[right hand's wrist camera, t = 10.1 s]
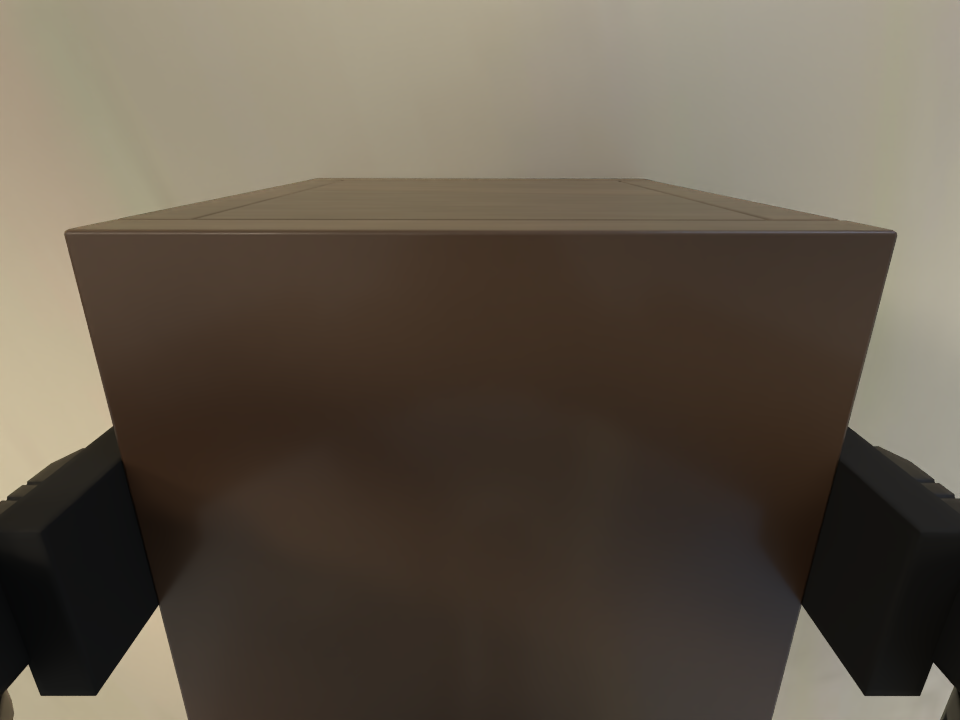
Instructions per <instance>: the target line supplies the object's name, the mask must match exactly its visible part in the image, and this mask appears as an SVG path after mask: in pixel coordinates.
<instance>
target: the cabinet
mask: <svg viewBox="0 0 960 720" xmlns="http://www.w3.org/2000/svg"><path fill="white" fill-rule="evenodd" d="M64 235H65V239H66V243H67V247H68V251H69V255H70V259H71V262H72V266H73V270H74V274H75V278H76V282H77V286H78V290H79V294H80V298H81V302H82V305H83V309H84V313H85V317H86V321H87V325H88V329H89V333H90V337H91V341H92V345H93V349H94V352H95V356H96V360H97V364H98V368H99V372H100V376H101V380H102V384H103V388H104V392H105V396H106V399H107V403H108V407H109V411H110V415H111V419H112V423H113V427H114V431H115V435H116V439H117V443H118V446H119V450H120V454H121V458H122V462H123V466H124V470H125V474H126V478H127V482H128V486H129V490H130V493H131V497H132V501H133V505H134V509H135V513H136V517H137V521H138V525H139V529H140V533H141V537H142V540H143V544H144V548H145V552H146V556H147V560H148V564H149V568H150V572H151V576H152V580H153V584H154V587H155V591H156V595H157V599H158V603H159V607H160V611H161V615H162V619H163V623H164V627H165V631H166V634H167V638H168V642H169V646H170V650H171V654H172V658H173V662H174V666H175V670H176V674H177V678H178V681H179V685H180V689H181V693H182V697H183V701H184V705H185V709H186V713H187V717H188V720H772V716H773V713H774V709H775V705H776V701H777V697H778V693H779V689H780V686H781V682H782V678H783V674H784V670H785V666H786V662H787V659H788V655H789V651H790V647H791V643H792V639H793V635H794V632H795V628H796V624H797V620H798V616H799V612H800V608H801V605H802V601H803V597H804V593H805V589H806V585H807V581H808V578H809V574H810V570H811V566H812V562H813V558H814V554H815V551H816V547H817V543H818V539H819V535H820V531H821V527H822V524H823V520H824V516H825V512H826V508H827V504H828V500H829V497H830V493H831V489H832V485H833V481H834V477H835V473H836V470H837V466H838V462H839V458H840V454H841V450H842V446H843V443H844V439H845V435H846V431H847V427H848V423H849V419H850V416H851V412H852V408H853V404H854V400H855V396H856V392H857V389H858V385H859V381H860V377H861V373H862V369H863V365H864V362H865V358H866V354H867V350H868V346H869V342H870V338H871V335H872V331H873V327H874V323H875V319H876V315H877V312H878V308H879V304H880V300H881V296H882V292H883V288H884V285H885V281H886V277H887V273H888V269H889V265H890V261H891V258H892V254H893V250H894V246H895V242H896V238H897V233H896V232H895V231H893V230H889V229H884V228H879V227H874V226H869V225H865V224H860V223H855V222H850V221H840V220H837V219H833V218H828V217H824V216H819V215H814V214H809V213H804V212H799V211H795V210H790V209H785V208H780V207H775V206H770V205H766V204H761V203H756V202H751V201H746V200H741V199H737V198H732V197H727V196H722V195H717V194H713V193H708V192H703V191H698V190H693V189H688V188H684V187H679V186H674V185H669V184H664V183H659V182H655V181H651V180H646V179H401V178H317V179H312V180H307V181H302V182H297V183H292V184H287V185H282V186H277V187H272V188H268V189H263V190H258V191H253V192H248V193H243V194H238V195H233V196H228V197H223V198H218V199H213V200H209V201H204V202H199V203H194V204H189V205H184V206H179V207H174V208H169V209H164V210H159V211H155V212H150V213H145V214H140V215H135V216H130V217H125V218H120V219H118V220H111V221H106V222H101V223H96V224H91V225H87V226H82V227H77V228H72V229H68V230H66V231H65V234H64Z"/></svg>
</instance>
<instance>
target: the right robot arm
mask: <svg viewBox="0 0 960 720" xmlns="http://www.w3.org/2000/svg"><path fill="white" fill-rule="evenodd" d="M158 605H159V603H158V599H157V595H156V591H155V587H154V584H153V580H152V576H151V572H150V568H149V564H148V560H147V556H146V552H145V548H144V544H143V540H142V537H141V533H140V529H139V525H138V521H137V517H136V513H135V509H134V505H133V501H132V497H131V493H130V490H129V486H128V482H127V478H126V474H125V470H124V466H123V462H122V458H121V454H120V450H119V446H118V443H117V439H116V435H115V431H114V427H112V428H110V429H109V430H108V431H106V432H105V433H104V434H103V435H101V436H100V437H99V438H97V439H96V440H95V441H94V442H92V443H91V444H90V445H88V446H87V447H86V448H82V449H80V450H78V451H76V452H74V453H72V454H70V455H68V456H66V457H64V458H62V459H60V460H57V461H55V462H53V463H51V464H50V465H49V466H47V467H46V468H45V469H43V470H42V471H41V472H39V473H38V474H37V475H35V476H34V477H33V478H31V479H30V480H29V481H27V485H22V486H21V487H19V488H18V489H17V490H15V491H14V492H13V493H11V494H10V495H9V496H7V500H6V501H1V502H0V720H13V716H14V711H13V705H12V700H11V698H10V695H9V693H8V691H7V688H8V687H9V686H10V685H11V684H12V683H13V681H14V680H15V679H16V678H17V677H18V676H19V674H20V673H21V672H22V671H23V670H24V669H25V667H26V666H27V665H28V664H29V667H30V669H31V672H32V675H33V677H34V680H35V682H36V685H37V687H38V690H39V692H40V695H41V696H96V695H97V694H98V692H99V691H100V689H101V688H102V686H103V685H104V683H105V682H106V680H107V679H108V678H109V676H110V675H111V673H112V672H113V670H114V669H115V667H116V666H117V665H118V663H119V662H120V660H121V659H122V657H123V656H124V654H125V653H126V652H127V650H128V649H129V647H130V646H131V644H132V643H133V641H134V640H135V639H136V637H137V636H138V634H139V633H140V631H141V630H142V628H143V627H144V625H145V624H146V623H147V621H148V620H149V618H150V617H151V615H152V614H153V612H154V611H155V610H156V608H157V607H158ZM802 606H803V607H804V609H805V610H806V612H807V613H808V614H809V616H810V617H811V619H812V620H813V622H814V623H815V625H816V626H817V627H818V629H819V630H820V632H821V633H822V635H823V636H824V638H825V639H826V641H827V642H828V643H829V645H830V646H831V648H832V649H833V651H834V652H835V654H836V655H837V656H838V658H839V659H840V661H841V662H842V664H843V665H844V667H845V668H846V669H847V671H848V672H849V674H850V675H851V677H852V678H853V680H854V681H855V682H856V684H857V685H858V687H859V688H860V690H861V691H862V693H863V694H864V695H865V696H920V695H921V692H922V690H923V687H924V684H925V682H926V679H927V677H928V674H929V672H930V669H931V667H932V664H933V662H934V663H935V665H936V666H937V667H938V668H939V669H940V670H941V671H942V673H943V674H944V675H945V676H946V677H947V678H948V680H949V681H950V682H951V683H952V684H953V685H954V688H953V691H952V693H951V695H950V698H949V700H948V703H947V705H946V707H945V710H944V712H943V715H942V717H941V719H940V720H960V499H955V497H954V494H953V493H952V492H950V491H949V490H948V489H946V488H945V487H944V486H942V485H941V484H940V483H935V482H934V479H933V478H932V477H930V476H929V475H928V474H926V473H925V472H924V471H922V470H921V469H920V468H918V467H917V466H916V465H914V464H913V463H912V462H910V461H908V460H906V459H904V458H902V457H900V456H898V455H895V454H893V453H891V452H889V451H887V450H885V449H883V448H881V447H879V446H872V445H871V444H870V443H868V442H867V441H866V440H865V439H863V438H862V437H861V436H859V435H858V434H857V433H856V432H854V431H853V430H852V429H850V428H849V427H847V431H846V435H845V439H844V443H843V446H842V450H841V454H840V458H839V462H838V466H837V470H836V473H835V477H834V481H833V485H832V489H831V493H830V497H829V500H828V504H827V508H826V512H825V516H824V520H823V524H822V527H821V531H820V535H819V539H818V543H817V547H816V551H815V554H814V558H813V562H812V566H811V570H810V574H809V578H808V581H807V585H806V589H805V593H804V597H803V601H802Z"/></svg>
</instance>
